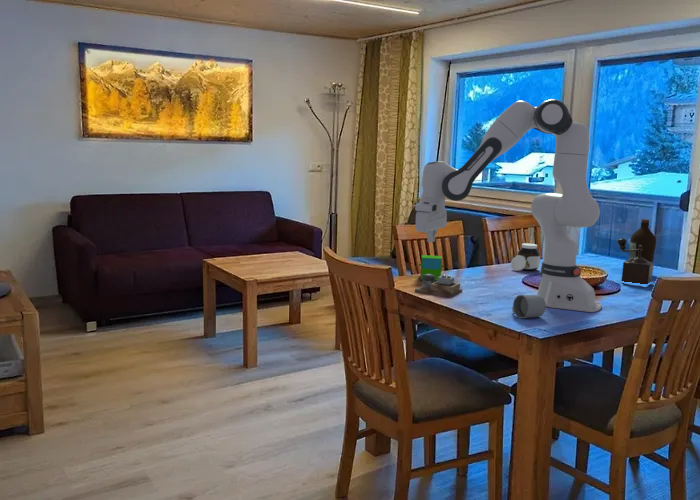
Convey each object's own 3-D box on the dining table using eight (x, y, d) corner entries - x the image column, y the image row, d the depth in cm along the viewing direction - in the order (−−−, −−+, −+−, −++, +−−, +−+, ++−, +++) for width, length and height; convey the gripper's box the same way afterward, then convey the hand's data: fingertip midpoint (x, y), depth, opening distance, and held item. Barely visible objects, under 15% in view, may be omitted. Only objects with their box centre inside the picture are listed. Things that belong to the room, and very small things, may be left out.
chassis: (462, 291, 241) (462, 281, 240) (449, 297, 231) (450, 286, 230) (428, 286, 248) (429, 276, 248) (414, 291, 238) (415, 281, 238)
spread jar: (539, 269, 292) (542, 244, 290) (537, 273, 281) (539, 247, 279) (513, 266, 296) (515, 241, 294) (509, 270, 286) (511, 245, 284)
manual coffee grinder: (652, 283, 270) (657, 241, 267) (647, 287, 261) (652, 244, 258) (614, 277, 279) (618, 237, 276) (607, 281, 270) (612, 239, 267)
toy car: (442, 276, 268) (443, 253, 266) (443, 283, 255) (444, 258, 253) (418, 275, 269) (419, 251, 267) (417, 281, 256) (418, 257, 254)
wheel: (436, 287, 243) (436, 274, 242) (430, 289, 239) (431, 276, 238) (425, 285, 245) (425, 272, 244) (419, 287, 241) (420, 274, 240)
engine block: (453, 290, 239) (454, 275, 238) (449, 292, 235) (450, 277, 234) (441, 288, 241) (442, 273, 240) (436, 290, 238) (437, 275, 237)
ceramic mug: (546, 319, 207) (548, 295, 206) (527, 321, 204) (529, 297, 203) (524, 311, 217) (525, 289, 216) (505, 313, 213) (506, 290, 212)
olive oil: (647, 272, 294) (654, 218, 290) (655, 277, 284) (662, 221, 279) (623, 271, 295) (629, 217, 291) (630, 275, 285) (636, 220, 281)
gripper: (436, 202, 247) (434, 237, 249) (413, 206, 230) (411, 244, 232) (451, 203, 244) (449, 239, 246) (429, 207, 227) (427, 246, 229)
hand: (431, 241), depth 239 cm, fingers closed
